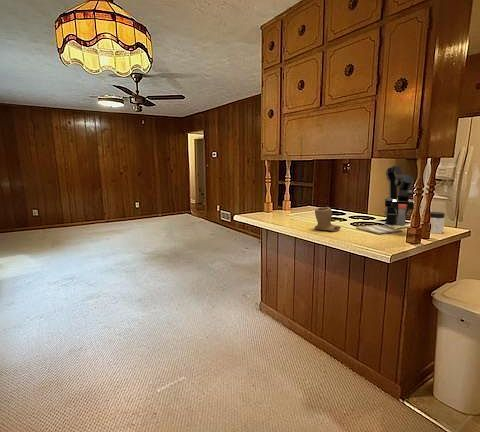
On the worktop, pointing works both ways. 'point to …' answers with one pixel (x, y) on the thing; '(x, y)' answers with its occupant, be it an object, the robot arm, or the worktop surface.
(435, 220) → the jar
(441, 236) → the worktop surface
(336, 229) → the brown boot-shaped piece
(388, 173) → the robot arm
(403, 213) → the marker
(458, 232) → the worktop surface
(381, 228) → the brown framed square board
